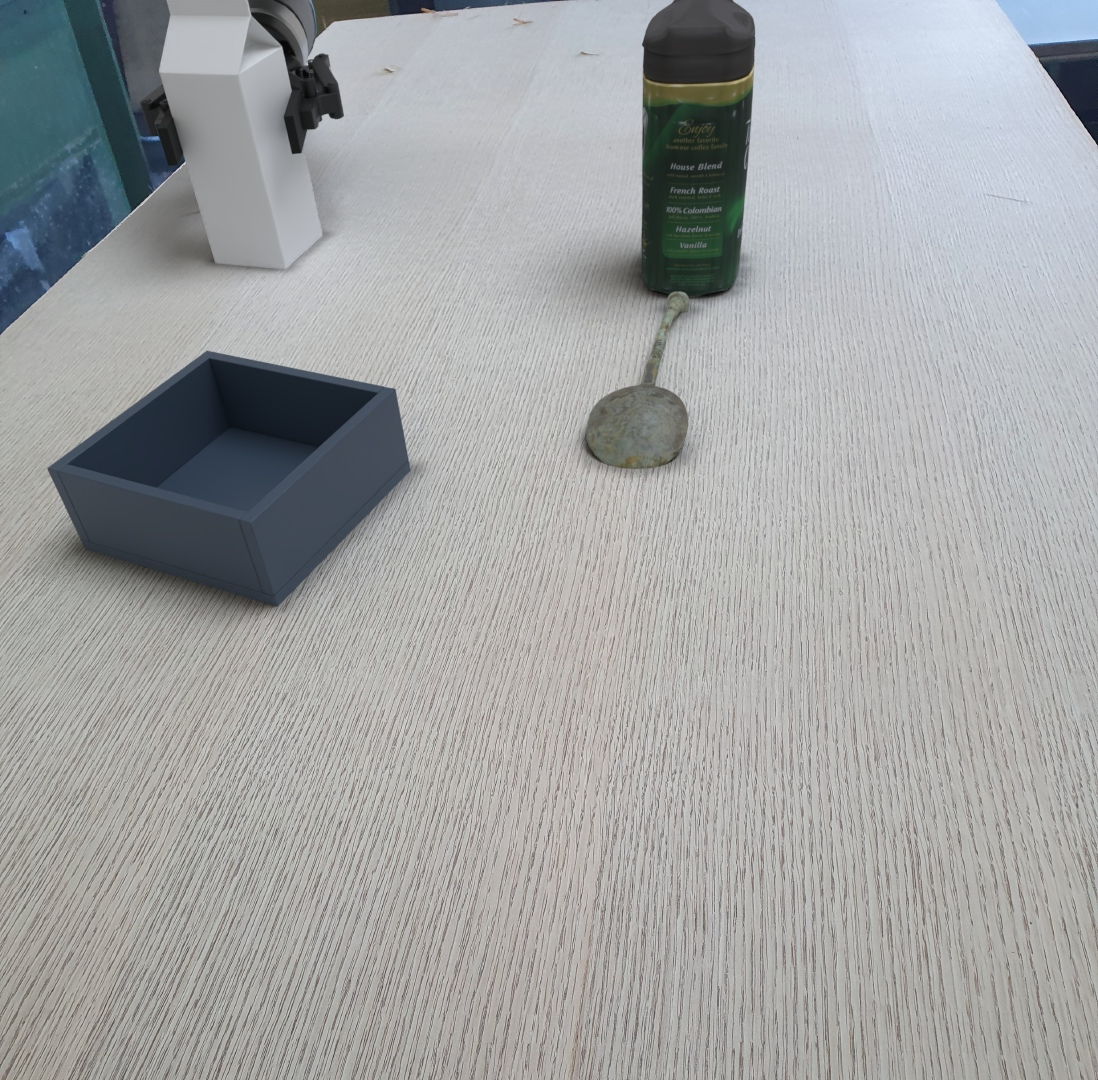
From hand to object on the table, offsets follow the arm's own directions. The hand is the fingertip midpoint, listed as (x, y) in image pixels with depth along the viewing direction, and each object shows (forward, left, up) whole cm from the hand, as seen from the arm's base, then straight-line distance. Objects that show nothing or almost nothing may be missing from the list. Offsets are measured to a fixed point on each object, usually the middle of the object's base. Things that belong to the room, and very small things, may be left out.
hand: (230, 141), depth 84 cm
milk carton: (-2, +4, -11) cm, 12 cm away
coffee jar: (+35, +11, -11) cm, 38 cm away
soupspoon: (+39, -6, -11) cm, 41 cm away
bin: (+21, -29, -10) cm, 37 cm away
